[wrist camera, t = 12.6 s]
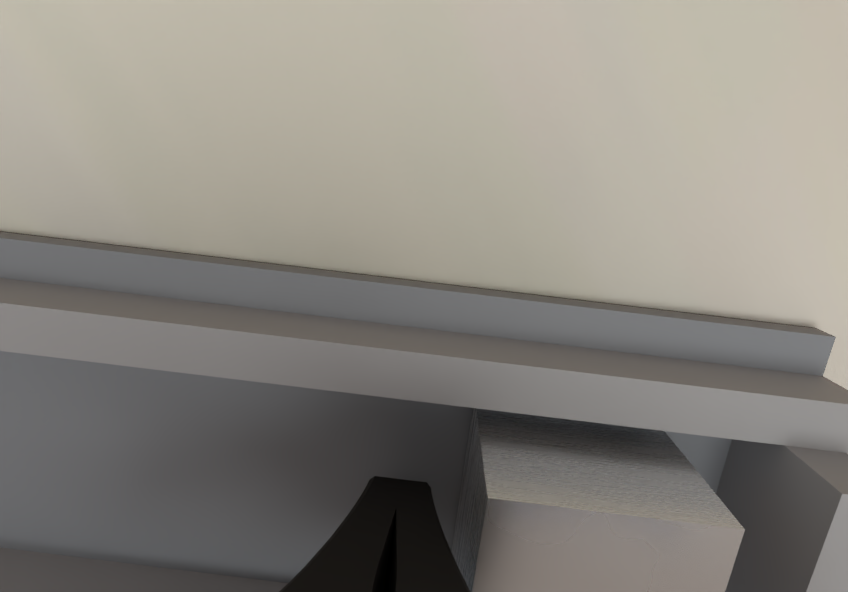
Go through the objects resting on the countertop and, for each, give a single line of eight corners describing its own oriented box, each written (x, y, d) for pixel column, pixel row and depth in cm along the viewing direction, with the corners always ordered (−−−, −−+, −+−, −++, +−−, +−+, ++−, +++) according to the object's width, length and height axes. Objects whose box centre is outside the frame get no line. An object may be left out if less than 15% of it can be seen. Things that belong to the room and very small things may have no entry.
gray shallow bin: (-107, 572, 14) (-285, 706, 11) (-173, 211, 12) (-435, 231, 8) (703, 674, 14) (789, 842, 11) (815, 328, 11) (977, 400, 8)
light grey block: (444, 593, 13) (444, 753, 9) (474, 396, 11) (488, 498, 8) (604, 612, 13) (664, 780, 9) (653, 417, 11) (745, 529, 8)
